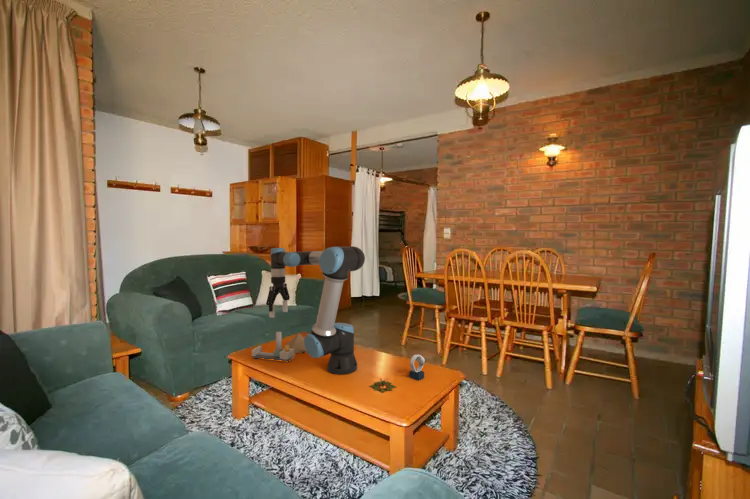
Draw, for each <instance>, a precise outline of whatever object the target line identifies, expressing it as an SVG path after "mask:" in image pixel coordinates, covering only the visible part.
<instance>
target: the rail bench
mask: <svg viewBox="0 0 750 499" xmlns="http://www.w3.org/2000/svg"><path fill="white" fill-rule="evenodd" d="M262 348H263V346H262V345H258V346H256V347H255V348H253V349H251V358H252V357H253V358H264V359H274V360H282V361H289V360H291V359H292V358H293V359H295V354H294V349H289V351H288V352H286V351H285V349H284V348H283V349H284V350H283V351H281V352H280V357H275V356H274V355H273V352H265V351H262V350H263V349H262ZM293 359H292V360H293ZM292 360H291V361H292ZM289 362H290V361H289Z"/></svg>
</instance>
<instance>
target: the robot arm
mask: <svg viewBox="0 0 750 499" xmlns="http://www.w3.org/2000/svg"><path fill="white" fill-rule="evenodd" d="M365 260H366V256H365V253H364V251H363V250H362V249H361V248H359V247H357V246H331V247H327V248H325V249H324V250H316V251H315V250H309V251H304V250H303V251H286V249H285V248H284V247H273V248H271V249H270V276H271V277H270V284H272V285H271V286H269V288H268V289H269V291H268V294H267V299H266V301H265V302H266V303H265V304H266V305H267V306H268V316H269V317H268V318H273V319H274V318H275V305H274V304H275V300H276V299H277V296H278V295H279V294H280V295H281V297H282V312H283V313H288V310H289V309H288V301H290V298H291V296H290V293H289V290H288V289H289V288H288V286H287V284H288V283H286V267H289V268H290V267H293V268H295V267H297V266H319V268H320V271H321V272H322V276H323V278H324V281H323V286H322V292H321V297H320V302H319V306H318V312H317V316H316V323H314V324H313V325H312V326H311V329H310V330H311V332H310V333H308V334H306V335H305V336H304V345H305V348H306V351H307V352H306V353H307V354H308V355H309V356H310V357H311V358H314V359H318V358H323V357H324V356H327V355H329V360H328V363H327V371H328V372H329V373H331V374H333V375H348V374H352V373H355V372H356V371H357V370H358V361H357V359H356V355H355V350H354V349H355V348H354V347H355V329H354V325H353V324H350V323H345V322H336V319H337V314H338V309H339V304H340V302H341V301H340V299H341V295H342V291H343V286H344V282H345V281H346V280H348V279H349V273H350V272H355V271H358V270H360V269H362V267H363V266H364V264H365V262H366V261H365Z"/></svg>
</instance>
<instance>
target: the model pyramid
mask: <svg viewBox="0 0 750 499" xmlns="http://www.w3.org/2000/svg"><path fill="white" fill-rule="evenodd" d="M304 338H305V336H303V335H302V334H301V333H297V334H296V335H295V336H294V337H292V338H291V339H290V340H289V341H288V342H287V343H286V344H284V345H283V346H282V348H283V347H284V348H285V345H289V349H294V355H296V354H295V353H300V354H301V353H303V352H304V353H303V354H306V353H307V351H306V348H305V345H304ZM284 348H283V349H284Z"/></svg>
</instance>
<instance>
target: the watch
mask: <svg viewBox="0 0 750 499" xmlns="http://www.w3.org/2000/svg"><path fill="white" fill-rule="evenodd" d="M415 361H416V362H417V363H418V367H417V368H416V365H415ZM425 361H426V360H425V358H424V357H423V356H422V355H421V354H417V353H415V354H413V355H412V356H411V358H410V361H409V367H410V370H409V374H408V375H409V377H410V378H409V379H413V380H415V381H417V380H418V382H420V381H421V379H422V380H424V379H425V371H423V370H422V369H423V367H424V365H425ZM423 378H424V379H423ZM419 380H420V381H419Z"/></svg>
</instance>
